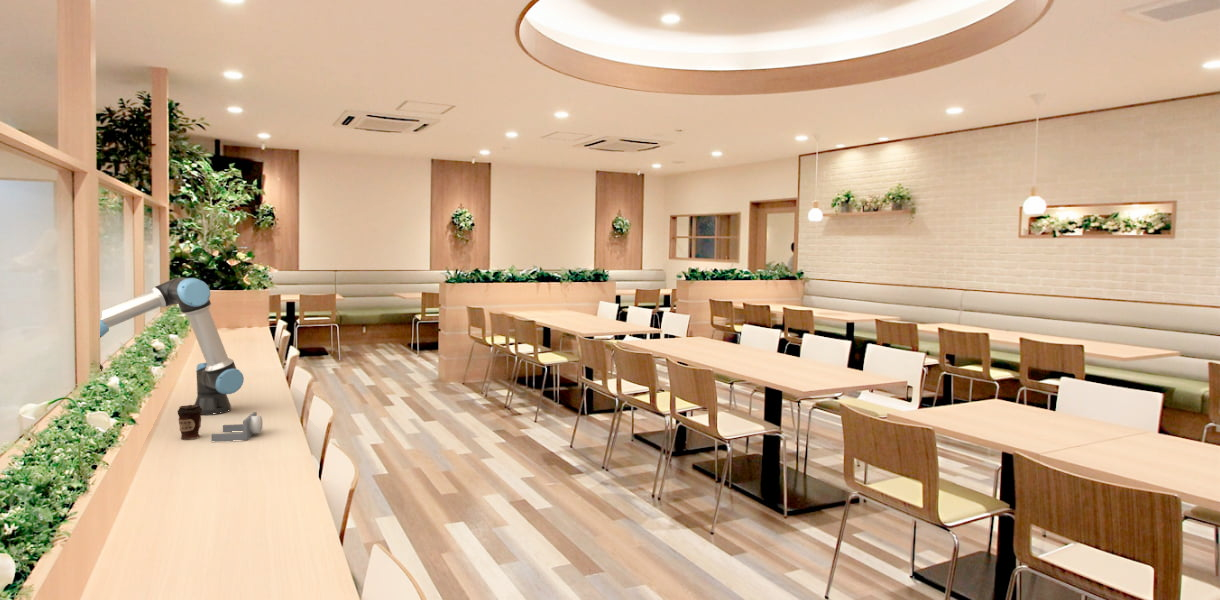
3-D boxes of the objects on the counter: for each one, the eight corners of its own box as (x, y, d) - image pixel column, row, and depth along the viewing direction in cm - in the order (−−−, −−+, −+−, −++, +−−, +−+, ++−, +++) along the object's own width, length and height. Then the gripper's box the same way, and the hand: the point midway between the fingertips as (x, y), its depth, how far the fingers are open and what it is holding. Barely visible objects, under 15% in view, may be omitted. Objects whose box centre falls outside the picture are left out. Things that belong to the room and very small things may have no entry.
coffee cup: (194, 441, 281) (193, 408, 280) (173, 440, 281) (172, 408, 280) (207, 435, 289) (206, 403, 288) (186, 435, 290) (185, 403, 289)
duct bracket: (223, 432, 295) (223, 413, 294) (265, 430, 298) (264, 411, 298) (211, 442, 280) (210, 422, 279) (255, 440, 283) (255, 420, 283)
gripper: (87, 371, 281) (136, 411, 286) (70, 377, 268) (121, 419, 273) (102, 357, 282) (150, 398, 286) (85, 363, 269) (136, 405, 274)
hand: (136, 408), depth 280 cm, fingers closed
